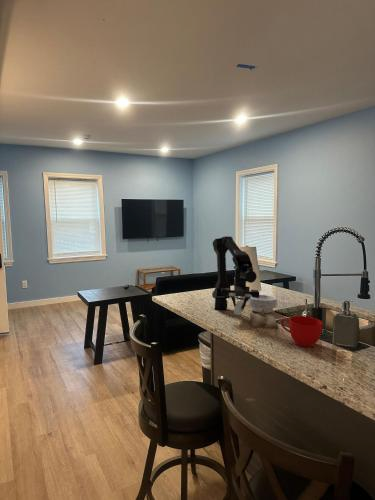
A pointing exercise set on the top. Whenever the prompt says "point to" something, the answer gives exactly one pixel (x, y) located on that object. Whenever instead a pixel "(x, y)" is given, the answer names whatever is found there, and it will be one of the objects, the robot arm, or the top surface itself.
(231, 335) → the top surface
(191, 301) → the top surface
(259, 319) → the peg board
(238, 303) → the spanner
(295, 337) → the ceramic cup
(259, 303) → the paper bowls
